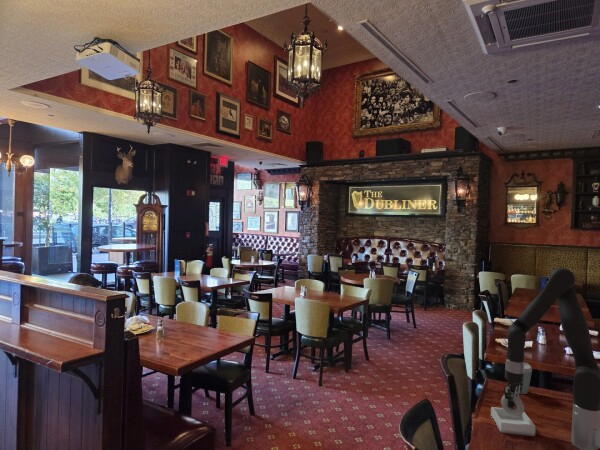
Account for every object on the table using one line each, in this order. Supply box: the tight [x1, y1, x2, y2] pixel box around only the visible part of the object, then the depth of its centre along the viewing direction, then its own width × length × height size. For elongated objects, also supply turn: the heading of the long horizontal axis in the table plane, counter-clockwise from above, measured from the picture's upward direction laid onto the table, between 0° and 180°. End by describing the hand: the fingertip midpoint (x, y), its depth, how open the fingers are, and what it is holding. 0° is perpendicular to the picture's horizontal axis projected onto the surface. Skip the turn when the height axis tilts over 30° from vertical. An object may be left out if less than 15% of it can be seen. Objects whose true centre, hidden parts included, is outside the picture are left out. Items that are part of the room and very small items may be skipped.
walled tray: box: [490, 406, 536, 437], centre depth 179 cm, size 14×14×4 cm
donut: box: [500, 394, 525, 417], centre depth 179 cm, size 10×4×10 cm, turn 37°
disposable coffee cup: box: [521, 362, 533, 395], centre depth 214 cm, size 11×11×15 cm
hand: (512, 406), depth 179 cm, fingers closed on donut, 3 cm apart
